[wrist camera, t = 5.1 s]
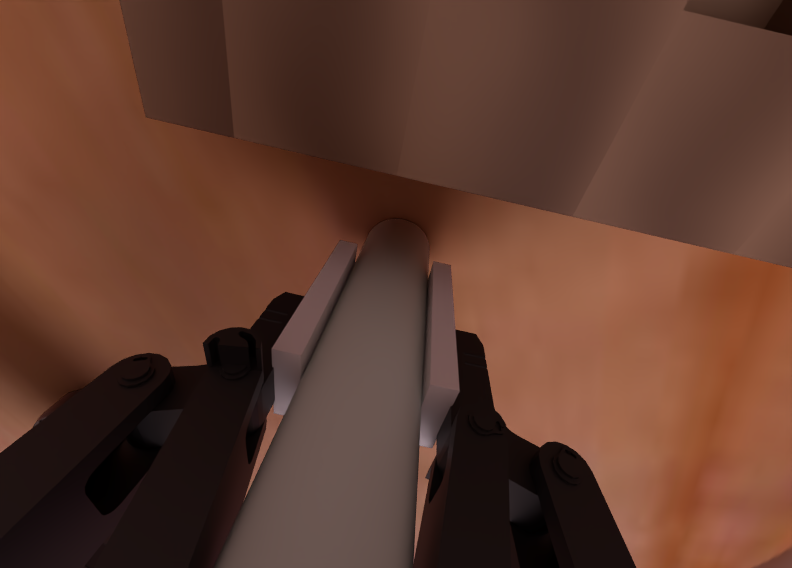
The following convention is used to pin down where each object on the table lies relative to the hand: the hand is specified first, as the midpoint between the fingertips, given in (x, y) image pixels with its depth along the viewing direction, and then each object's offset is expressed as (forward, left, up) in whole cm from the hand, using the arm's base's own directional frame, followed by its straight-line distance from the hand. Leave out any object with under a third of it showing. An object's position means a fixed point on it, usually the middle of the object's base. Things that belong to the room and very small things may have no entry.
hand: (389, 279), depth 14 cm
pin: (0, 0, -3) cm, 3 cm away
